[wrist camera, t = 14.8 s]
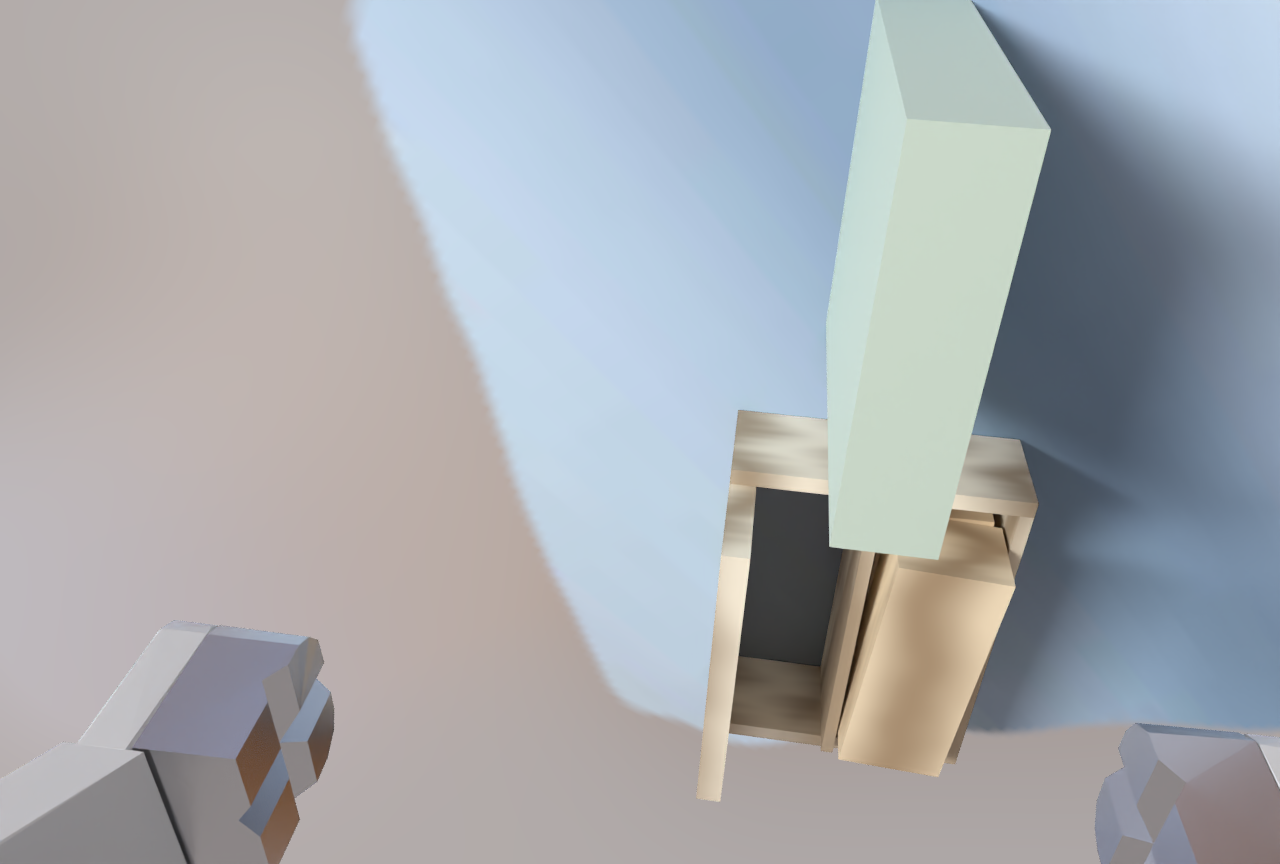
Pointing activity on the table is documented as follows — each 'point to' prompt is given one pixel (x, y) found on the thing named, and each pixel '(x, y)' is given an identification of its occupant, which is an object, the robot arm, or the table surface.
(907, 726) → the upper offcut
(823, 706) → the box
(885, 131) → the sheet
